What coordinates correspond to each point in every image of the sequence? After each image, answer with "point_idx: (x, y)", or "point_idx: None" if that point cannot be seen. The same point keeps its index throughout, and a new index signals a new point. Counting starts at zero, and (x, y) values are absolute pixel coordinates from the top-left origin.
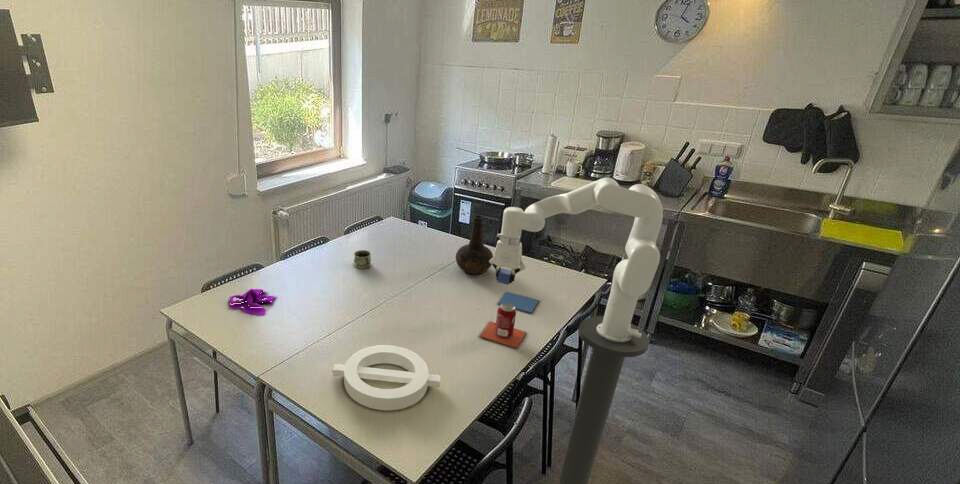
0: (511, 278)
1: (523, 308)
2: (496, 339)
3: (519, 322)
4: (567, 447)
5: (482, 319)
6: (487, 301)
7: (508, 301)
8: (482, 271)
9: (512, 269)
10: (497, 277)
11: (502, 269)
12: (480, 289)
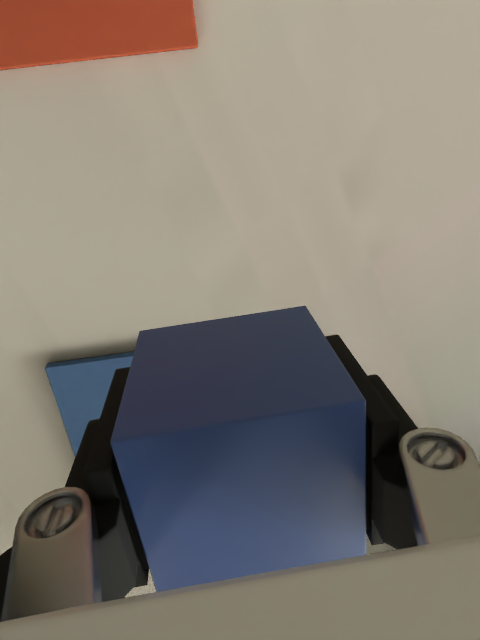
0: (100, 420)
1: (108, 377)
2: None
3: (37, 207)
4: None
5: (272, 58)
6: (337, 323)
7: None
8: None
9: (57, 608)
10: (340, 356)
11: (341, 540)
12: (423, 418)
